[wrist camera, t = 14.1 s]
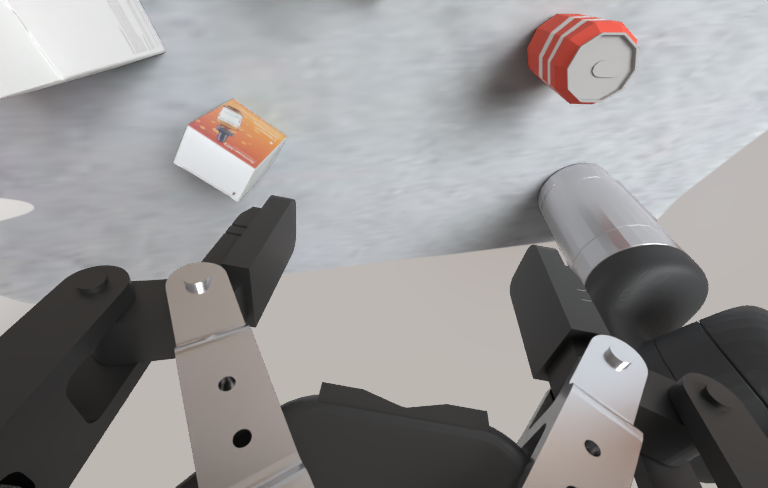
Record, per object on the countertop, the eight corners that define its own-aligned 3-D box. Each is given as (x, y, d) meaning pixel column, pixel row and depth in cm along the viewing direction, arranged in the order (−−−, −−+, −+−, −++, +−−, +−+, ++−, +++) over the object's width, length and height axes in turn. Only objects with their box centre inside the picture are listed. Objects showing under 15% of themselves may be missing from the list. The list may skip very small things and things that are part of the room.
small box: (288, 136, 46) (257, 170, 37) (270, 166, 49) (238, 204, 40) (232, 96, 43) (186, 123, 35) (217, 131, 46) (171, 163, 38)
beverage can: (577, 79, 38) (628, 110, 29) (518, 78, 39) (549, 108, 29) (597, 13, 35) (663, 24, 25) (532, 13, 35) (572, 23, 26)
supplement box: (51, -18, 38) (-122, -20, 26) (117, -44, 36) (-37, -58, 24) (108, 71, 43) (-14, 104, 31) (168, 53, 41) (63, 81, 29)
